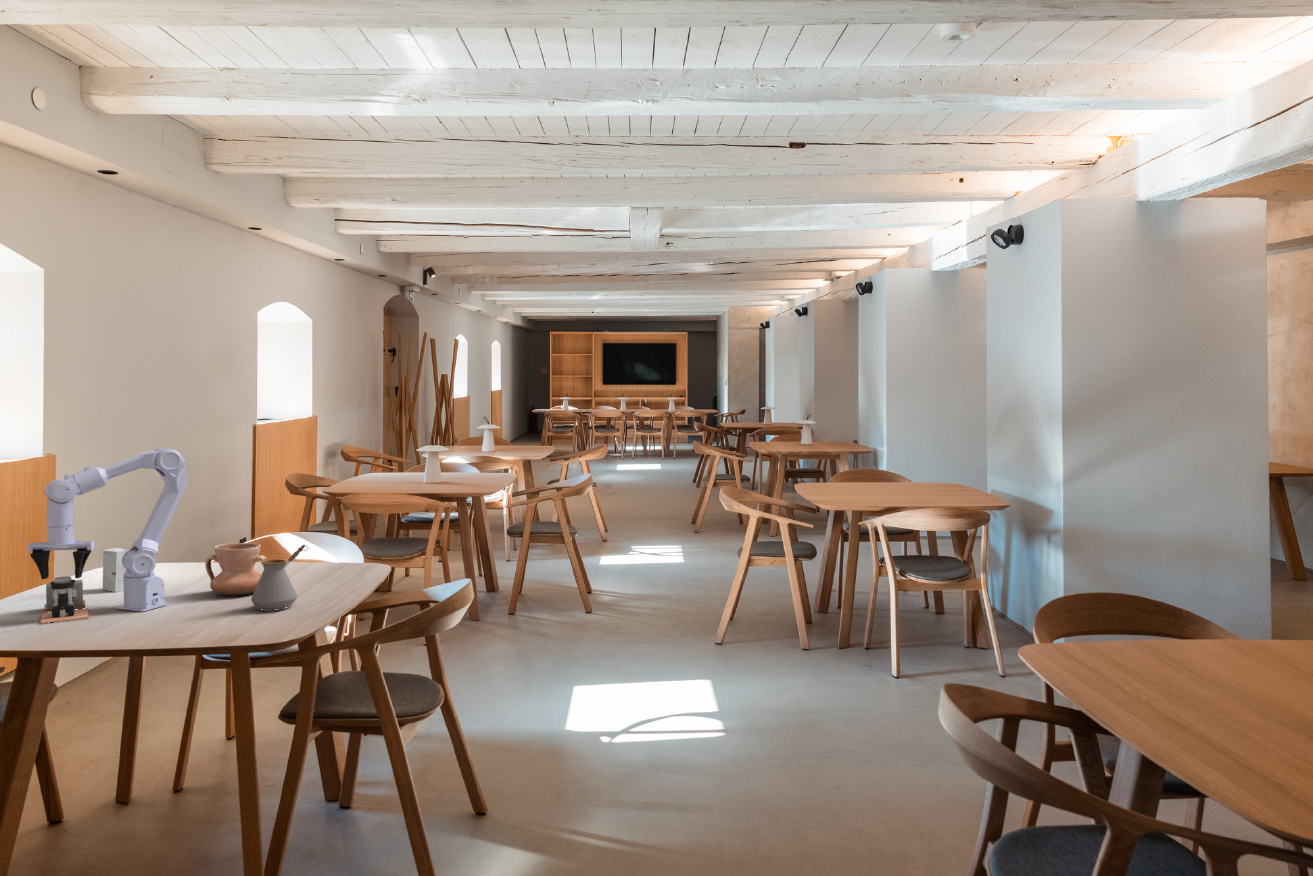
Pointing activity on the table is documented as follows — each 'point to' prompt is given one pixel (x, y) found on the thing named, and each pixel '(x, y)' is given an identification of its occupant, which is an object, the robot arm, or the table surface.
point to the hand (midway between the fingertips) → (61, 578)
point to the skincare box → (113, 569)
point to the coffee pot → (275, 585)
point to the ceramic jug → (235, 568)
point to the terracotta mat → (78, 615)
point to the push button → (62, 597)
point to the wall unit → (75, 592)
